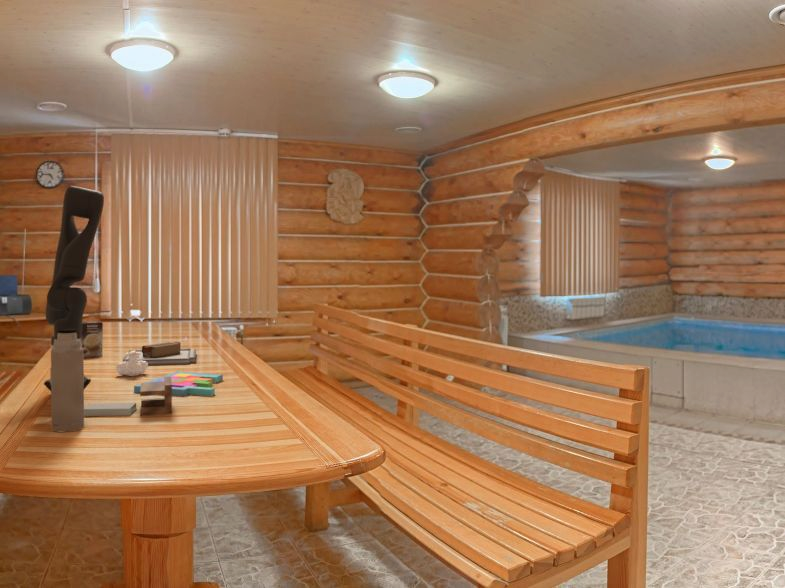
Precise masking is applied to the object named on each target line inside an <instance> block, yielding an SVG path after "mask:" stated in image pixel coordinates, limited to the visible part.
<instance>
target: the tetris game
mask: <svg viewBox="0 0 785 588" xmlns="http://www.w3.org/2000/svg"><path fill="white" fill-rule="evenodd" d="M164 377H171V382H172V396H175V397H176V396H177V397H186V396H189V395H188V394H191V395H192V396H203V397H204V396H205V397H212V396H214V395H216V394H215V393H216V392H215V391H216V389H215V387H212V385H213V384H217V383H216V382H218V383H219V381H220V382H222V381H224V380H223V379H224V378H223V377H224V376H223V374H220V373H219V374H218V373H207V372H206V373H205V372H193V371H192V372H191V371H190V372H189V371H175V372H171V373H169V374H165V375H163V376H160V377H157V378H154V379H151V380H148V381H144V382H143V383H149V382H164ZM221 380H222V381H221ZM140 390H141V383H139V384H136V385H133V393H137V394H138V393H139V394H140ZM191 395H190V396H191Z"/></svg>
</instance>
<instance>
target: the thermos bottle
mask: <svg viewBox="0 0 785 588" xmlns="http://www.w3.org/2000/svg"><path fill="white" fill-rule="evenodd" d="M57 332H58V335H57V340H56V341H54V345H53V346H54V349H52V350H51V349H50V368H51V391H50V396H51V398H50V399H51V406H50V407H51V431H52V430H54V431H53V432H55V431H70V432H74V431H75V430H76V431H80V430H82V429H83V428H84V427H85V416H84V407H85V404H84V403H85V392H84V390H85V389H84V376H85V374H84V373H85V371H84V367H85V365H84V362H85V361H84V357H83V348H81V341H80V340H78V339H77V334H76V332H77V329H59V330H57Z"/></svg>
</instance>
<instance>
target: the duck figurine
mask: <svg viewBox="0 0 785 588" xmlns="http://www.w3.org/2000/svg"><path fill="white" fill-rule="evenodd" d="M140 354H141V352H136V351H131V352H130V353H128V352H125V353H124V355H125V356H126V355H128V357H129V358H128V359H129V361H127V362H123V361H121V362H118V363H117V364H116V366H115V367H116V368H115V370H116V372H117V375H119V376H128V377H135V376H139V375H141V374H144V373H145V372H146V370H147V368H148V366H149V365H148V363H147V362H146V361H141V360H140V361H138V360H137V358H138V359H139V355H140Z"/></svg>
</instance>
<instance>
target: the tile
mask: <svg viewBox="0 0 785 588" xmlns="http://www.w3.org/2000/svg"><path fill="white" fill-rule="evenodd" d="M136 410H137V402H103V403H99V402H98V403H94V402H93V403H92V402H91V403H88V404H86V405H84V417H85V416H86V417H89V416H90V417H93V416H94V417H97V416H100V417H101V416H131V415H132V414H133V413H134V412H135V411H136Z"/></svg>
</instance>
